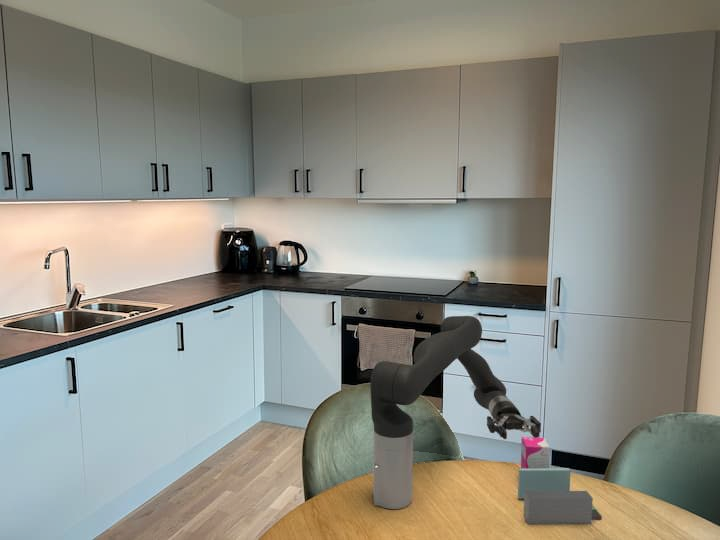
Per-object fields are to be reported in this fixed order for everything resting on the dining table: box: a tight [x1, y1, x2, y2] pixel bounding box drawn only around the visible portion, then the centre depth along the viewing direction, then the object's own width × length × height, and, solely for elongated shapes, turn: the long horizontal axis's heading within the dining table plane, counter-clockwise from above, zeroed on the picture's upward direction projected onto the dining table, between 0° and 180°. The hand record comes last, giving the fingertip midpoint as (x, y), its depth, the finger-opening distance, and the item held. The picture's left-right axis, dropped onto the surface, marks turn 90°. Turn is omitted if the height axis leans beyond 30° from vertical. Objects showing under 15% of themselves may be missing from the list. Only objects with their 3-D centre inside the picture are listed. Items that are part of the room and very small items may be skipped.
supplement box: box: [520, 436, 551, 468], centre depth 132 cm, size 6×6×12 cm
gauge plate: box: [517, 467, 571, 500], centre depth 125 cm, size 16×1×7 cm, turn 91°
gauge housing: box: [523, 490, 603, 525], centre depth 121 cm, size 17×10×6 cm, turn 91°
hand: (521, 435), depth 143 cm, fingers open, 8 cm apart
